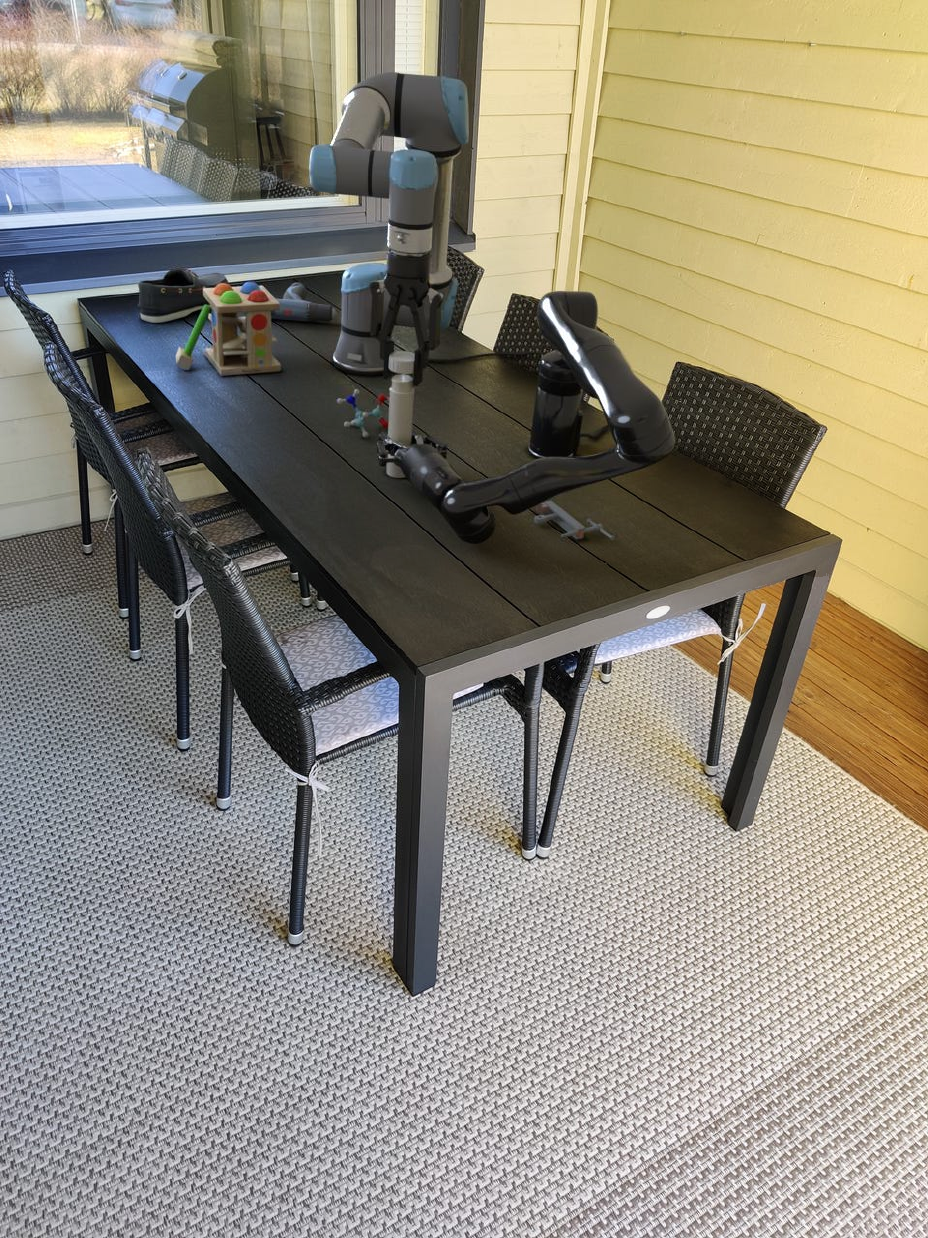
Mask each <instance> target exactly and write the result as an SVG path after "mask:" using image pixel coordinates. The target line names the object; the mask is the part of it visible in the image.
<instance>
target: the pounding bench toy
mask: <svg viewBox="0 0 928 1238" xmlns="http://www.w3.org/2000/svg"><path fill="white" fill-rule="evenodd" d="M203 296H204V297H205V299H206V300H207V301H208V302H209V304H210V305H211V307H210V306H208V305H204V307H203V309H201V312H200V313H199V316H198V318H197V320H196V322H195V324H194V327H193V329H192V331H191V332H190V333H191V334H190V336H189V338H188V340H187V343H186V344H185V347H184V348H182V347H180V346H179V347H178V349H177V351H176V354H175V357H174V358H175V362H176V365H177V366H178V368H179V369H182V370H185V371H189V370H190V369H191V367H192V365H193V363H194V356H193V351H194V348H195V347H196V345H197V342H198V340H199V337H200V336H201V333H202V332H203V329H204V326H205V325H206V322H207V320H209V321H210V322H211V336H212V337H211V338H212V339H211V340H212V348H205V349H204V352H205V353H204V355H205V357H206V359H208V361H209V363H210V364H211V365H212V366H213V367H214V369H215V370H216V371H217V372H218V374H219V375H220V376H222V377H223V376H234V375H235V376H236V375H246V374H247V375H250V374H262V373H275V372H281V370H282V364H281V363H280V362H279V360H278V359H277V358H276V357H275V356H274V355H273V348H272V347H273V345H272V344H276V343H278V342H279V341H278V339H277V338H276V337H275V336H274V334H272V318H271V310H280V303H279V302H278V301H277V300H276V299H277V298H276V297H274V296H273V295H272V294H271V293H270V292H269V290H268V289H267V288H266V287H264V285H259V284H257V283H256V282H255V281H247V282H245V283H244V284H243V285H242V286H232V285H230V284H229V285H228V284H226V283H221V284H218V285H217V286H216V287H215V288H204V289H203ZM238 313H244V314H245V315H244V316H238ZM238 329H239V331H240V333H239V334H238Z"/></svg>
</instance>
